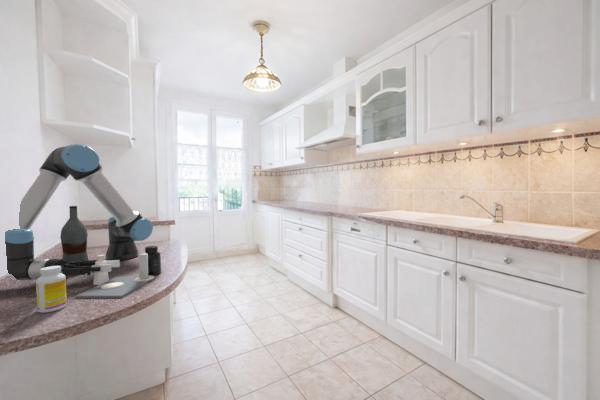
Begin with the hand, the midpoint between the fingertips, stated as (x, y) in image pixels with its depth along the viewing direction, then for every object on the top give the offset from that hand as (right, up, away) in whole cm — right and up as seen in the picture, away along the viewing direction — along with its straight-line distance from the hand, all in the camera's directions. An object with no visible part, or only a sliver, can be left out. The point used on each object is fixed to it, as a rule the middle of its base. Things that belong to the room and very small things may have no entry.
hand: (115, 265), depth 104 cm
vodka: (-28, -7, +14) cm, 32 cm away
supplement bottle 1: (-2, -7, -24) cm, 25 cm away
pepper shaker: (-5, -7, -1) cm, 8 cm away
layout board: (+6, -7, -6) cm, 11 cm away
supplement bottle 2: (+9, -6, +10) cm, 15 cm away
